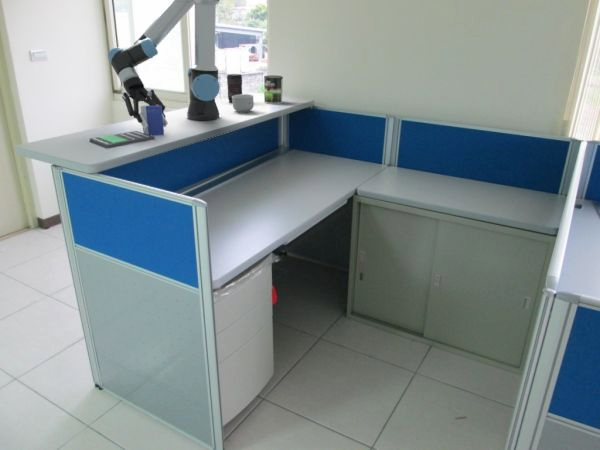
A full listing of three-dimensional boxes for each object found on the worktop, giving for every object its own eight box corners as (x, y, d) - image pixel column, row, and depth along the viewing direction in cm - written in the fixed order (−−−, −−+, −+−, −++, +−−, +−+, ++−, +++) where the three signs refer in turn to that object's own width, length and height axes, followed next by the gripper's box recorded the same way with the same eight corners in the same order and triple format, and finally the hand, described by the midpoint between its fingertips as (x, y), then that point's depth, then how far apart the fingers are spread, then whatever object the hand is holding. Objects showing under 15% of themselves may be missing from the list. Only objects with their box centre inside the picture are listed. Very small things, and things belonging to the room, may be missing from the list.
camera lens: (244, 101, 283) (244, 74, 277) (239, 104, 276) (238, 75, 270) (231, 100, 285) (230, 73, 279) (225, 103, 278) (224, 74, 272)
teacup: (252, 113, 252) (252, 97, 249) (230, 113, 252) (230, 97, 249) (255, 108, 264) (255, 93, 261) (234, 108, 265) (234, 92, 261)
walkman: (164, 133, 210) (161, 104, 205) (163, 135, 207) (160, 105, 202) (144, 133, 209) (141, 104, 204) (143, 135, 206) (140, 105, 202)
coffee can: (275, 104, 276) (275, 78, 270) (260, 102, 281) (260, 76, 275) (286, 102, 284) (286, 76, 279) (271, 100, 289) (271, 74, 283)
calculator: (136, 133, 210) (136, 130, 209) (154, 139, 201) (154, 136, 200) (89, 141, 196) (89, 137, 196) (107, 147, 187) (106, 144, 187)
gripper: (151, 85, 218) (175, 128, 215) (105, 90, 204) (130, 136, 201) (156, 73, 213) (181, 117, 209) (109, 77, 199) (135, 124, 195)
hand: (156, 126), depth 205 cm, fingers open, 8 cm apart
